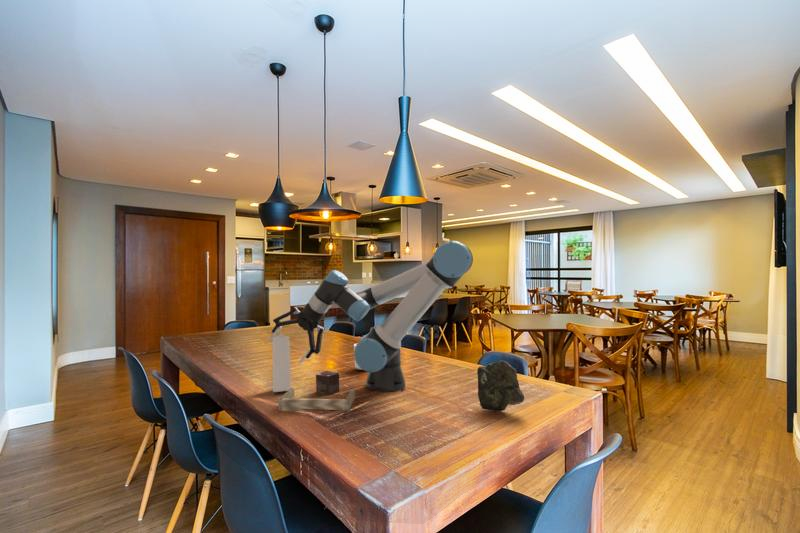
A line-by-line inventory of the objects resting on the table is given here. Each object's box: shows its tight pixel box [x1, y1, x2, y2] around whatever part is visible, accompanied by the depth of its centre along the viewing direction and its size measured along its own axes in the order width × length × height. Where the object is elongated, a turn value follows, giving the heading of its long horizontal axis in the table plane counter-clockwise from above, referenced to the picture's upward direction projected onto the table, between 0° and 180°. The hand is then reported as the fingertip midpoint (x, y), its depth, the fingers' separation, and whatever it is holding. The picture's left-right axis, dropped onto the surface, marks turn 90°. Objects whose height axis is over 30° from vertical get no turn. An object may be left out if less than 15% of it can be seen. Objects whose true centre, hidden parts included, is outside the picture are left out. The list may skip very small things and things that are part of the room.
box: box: [315, 370, 340, 396], centre depth 139 cm, size 6×6×7 cm
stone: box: [476, 359, 525, 412], centre depth 122 cm, size 15×10×15 cm
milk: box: [272, 332, 292, 393], centre depth 142 cm, size 6×6×22 cm
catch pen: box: [277, 387, 356, 414], centre depth 126 cm, size 22×11×4 cm, turn 86°
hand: (285, 352), depth 143 cm, fingers open, 13 cm apart
